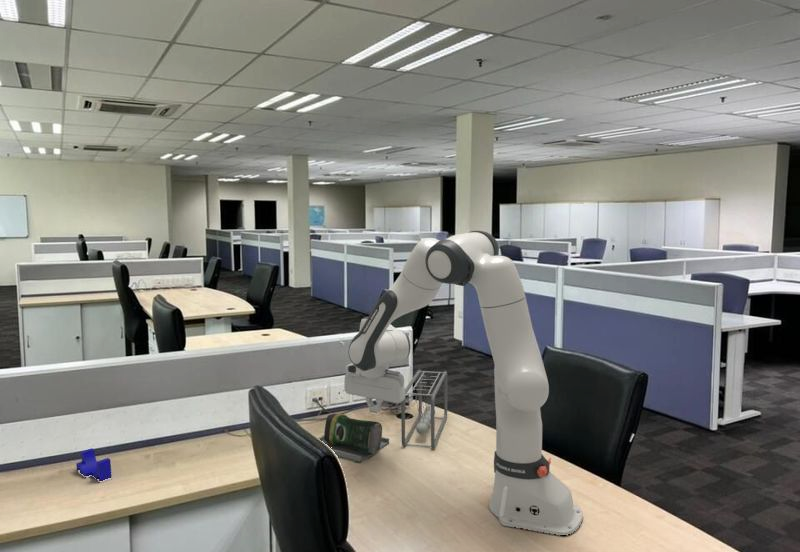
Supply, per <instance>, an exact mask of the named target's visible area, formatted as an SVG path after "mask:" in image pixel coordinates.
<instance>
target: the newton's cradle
mask: <svg viewBox="0 0 800 552" xmlns="http://www.w3.org/2000/svg"><path fill="white" fill-rule="evenodd" d="M425 373H432V374H437V375H435V376H433V375H431V377H432V378H433V377H435V378H436V379H434V380H433V379H427V378H426V380H428V381H429V380H432V381H433V382H432V386H431V385H430V386H429V385H427V387H429V388H430V389H428V393H427V392H424V391H427V387H424V386H426V381H425V378H424V374H425ZM440 374H441V377H440ZM439 377H440V378H439ZM417 378H418V380H417ZM438 379H439V381H438ZM416 380H417V382H416ZM437 381H438V383H437ZM415 382H416V383H415ZM414 383H415V384H414ZM436 383H437V384H436ZM442 383H444V384H443V385H444V386H443V391H444V393H443V399H444V400H443V401H444V402H443V404H444V405H443V406H444V407H443V408H444V409H443V413H444V414H443V417H438V416H435V415H436V409H435V401H436V396H437V394H438V393H439V389H440V388H441V385H442ZM423 384H424V385H423ZM413 385H414V386H413ZM411 387H412V389H411ZM423 387H424V388H423ZM410 389H411V391H410ZM415 390H416V391H417V393H416V391H415ZM423 390H424V391H423ZM409 391H410V392H409ZM413 391H414V392H413ZM407 395H413V396H415V401H416V402H415V403H416V406H417V408H418V409H417V412H418V413H417V414H418V415H417V417H416V419H415V421H414V423H413V424H412V426H411V428H410V430H409V432H408V433H407V435H406V398H405V399H404V400H403V401H402V402H400V403H401V404H400V405H401V408H400V409H401V410H400V412H401V413H400V415H401V418H400V419H401V446H402V447H406V446H412V447H422V448H423V447H425V448H431V450H432V449H433V450H435V449H436V447H437V444H438V441H439V439H440V437H441V435H442V431H443V429H444V427H445V424H446V421H447V418H448V372H447V371H446V370H444V371H428V370H427V371H426V370H421V369H418V370H417V371H416V372H415V374H414V375H413V377H412V378H411V380H410V381H409V382H408V384H407V386H406V387H405V396H407ZM422 396H423V397H424V399H423V397H422ZM425 396H426V398H425ZM417 397H418V398H417ZM417 399H418V401H417ZM423 400H426V401H423ZM424 403H425V404H424ZM423 404H424V405H425V407H424V405H423ZM423 409H424V410H423ZM435 419H440V420H442V421H441V422H440V423H441V424H440V425H439V428H438V431H437V434H436V433H435V430H436V429H435V427H436V426H435V422H436V420H435ZM429 428H430V445H425V444H424V445H423V444H415V443H414V444H412V443H411V444H410V443H409V440H410V439H411V437H412V435H413V433H414V431H415V430H416V433H418V434H419V435H425V434H427V432H428V429H429ZM435 434H436V436H435Z"/></svg>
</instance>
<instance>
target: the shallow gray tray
mask: <svg viewBox="0 0 800 552" xmlns="http://www.w3.org/2000/svg"><path fill="white" fill-rule="evenodd" d="M318 439H320V440H321V441H323V442H324V443H325V444H327V445H328V446H329V447H330V448H331V447H332V448H331V449H332V450H333V451H334V452H335V454H336V455H337V456H338V457H337V458H339V459H343V460H346V461H351V462H354V463H359V464H361V463H363V462H364V461H366V460H367V459H369V458H370V457H372V456H373V455H375V454H376V453H378V452H379V451H380V450H382V449H384V448H385V447H386V446H388V445H390V438H389V437H385V436H382V439H381V445H380V448H379V450H378V451H377V452H376V453H374V454H366V453H363V452H361V451H358V450H356V449H353V448H351V447H348V446H345V445H332V444H330V443H328V442H326V441H325V440H324V434H323V435H321V436H319V437H318Z"/></svg>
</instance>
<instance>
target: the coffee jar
mask: <svg viewBox="0 0 800 552" xmlns="http://www.w3.org/2000/svg"><path fill="white" fill-rule="evenodd" d="M324 426H325V427H324V434H323V435H324V440H325V441H326V442H328V443H330V444H332V445H345V446H348V447H351V448H353V449H356V450H358V451H361V452H363V453H366V454H373V455H375V454H376V453H378V452H379V451H380V450H379V448H380V445H381V439H382V437H383V426H382V423H381V422H378V421H373V420H372V421H371V420H365V419H355V418H351V417H348V416H347V415H346V414H343V413H331V414H328V415H327V416H326V420H325V425H324ZM378 450H379V451H378ZM377 451H378V452H377ZM374 453H375V454H374Z"/></svg>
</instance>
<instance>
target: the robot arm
mask: <svg viewBox="0 0 800 552" xmlns="http://www.w3.org/2000/svg"><path fill="white" fill-rule="evenodd" d="M499 254H500V248H499V244H498V241H497V239H496V238H495V237H494V236H493V235H492V234H491V233H489V232H487V231H483V230H471V231H469V232H465V233H456V234H454V235H451V236H448V237H447V238H445V239H441V240H439V239H437V238H433V237H426V238H423V239H420V240H419V241H418V242H417V244H416V245H415V246H414V248H413V249H412V250H411V252H410V254H409V255H408V257H407V259H406V261H405V264H404V265H403V268H402V269H401V272H400V274H399V275H398V277H397V278H396V280H395V281H394V282H393V283H392V285H391V286H390V287H389V289H387V290H386V291H385V292H384V293H383V294H382V295H381V296H380V298H379V299H378V300H377V302H376V303H375V305H374V307H373V309H372V310H371V312H370V314H369V316H364V317H363V318H362V319H361V321H360V324H359V332H358V333H357V334H355V336H354V337H353V338H352V339H351V341H350V344H349V347H348V358H349V360H350V362H351V363H349V364H347V365H345V372H346V373H345V374H344V381H343V382H344V384H343V385H344V391H345V393H346V394H347V395H352V396H357V397H363V398H365V402H366V404H367V406H368V411H369V412H370V413H375V414H379V413H380V412H381V406H382V405H383V403H384V402H389V403H394V404H400V403H401V402H402V401H403V400H404V399H405V400H406V395H405V389H406V387H405V377H404V375H403V374H402V373H401V372H400V371H397V370H396V371H395V370H391V369H390V368H389V367H390V366H389V365H394V364H397V363H401V362H403V361H406V360H407V359H408V358H409V355H410V353H411V340H410V337H409V336H408V334H407V333H405V332H404V331H403V330H400V329H398V328H396V327H395V326H393V325H392V323H393V322H394V321H395V320H396V319H398V318H400V317H401V316H404V315H407V314H408V313H409V314H410V313H411V312H414V311H418V310H420V309H422V308H425V307H427V306H428V305H430V304H431V302H432V301H433V300H434V299H435V298H436V296H437V294H438V293H439V291H440V289H441V286H442V285H443V284H448V285H456V286H460V287H461V286H462V287H465V286H467V285H468V284H469V283H470V284H471V285H472V286H473V287H474V289H475V291H476V294H477V299H478V302H479V307H480V312H481V316H482V321H483V324H484V329H485V333H486V338H487V341H488V345H489V348H490V352H491V355H492V359H493V363H494V368H493V371H494V373H493V376H494V403H495V404H494V405H495V418H496V422H495V425H496V428H495V429H496V430H495V431H496V432H495V433H496V435H495V437H496V439H495V441H496V442H495V443H496V444H495V445H496V446H495V450H494V453H493V454H494V456H493V472H494V479H493V480H494V481H493V487H492V492H491V497H490V500H489V503H488V508H489V511H490V512H491V513H492V514H493V515H494V516H496V517H497V519H498V521H499V523H500V524H501V525H502V526H505V527H510V528H514V527H516V528H515V529H520V528H523V529H522V530H526V529H528V530H527V531H532V530H533V532H537V531H538V532H537V533H543V532H544V534H549V533H550V534H549V535H554V534H556V535H555V536H560V535H567V536H569V535H568V534H570V535H572V534H574V533H575V532H577V530H578V529H579V528H580V527H579V526H581V525H582V523H581V522H583V520H584V519H583V518H584V516H583V510H582V509H581V507H580V506H578V505H576V504H574V499H573V495H572V492H571V490H570V488H569V487H568V486H567V485H566V484H565V483H563V482H562V481H561V480H560V479H559V478H558V477H557V476H556V475H555V474H554V473H552V471H550V464H551V461H552V458H551V457H549V458H548V460H547V458H545V456H544V454H543V453H542V452H543V451H542V450H543V422H542V421H543V420H542V411H541V407H543V405H544V404H545V403H546V402H547V400H548V397H549V393H550V389H549V388H550V385H549V381H548V376H547V373H546V369H545V366H544V361H543V357H542V353H541V351H540V347H539V343H538V342H537V338H536V334H535V332H534V327H533V324H532V319H531V314H530V311H529V305H528V303H527V297H526V294H525V288H524V286H523V282H522V279H521V277H520V275H519V272H518V269H517V266H516V265H515V263H514V261H513V260H512V259H511V258H509V257H508V256H505V255H499ZM373 400H375V403H376V404H375V403H374V401H373ZM574 531H575V532H574ZM573 532H574V533H573ZM571 533H572V534H571Z"/></svg>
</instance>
